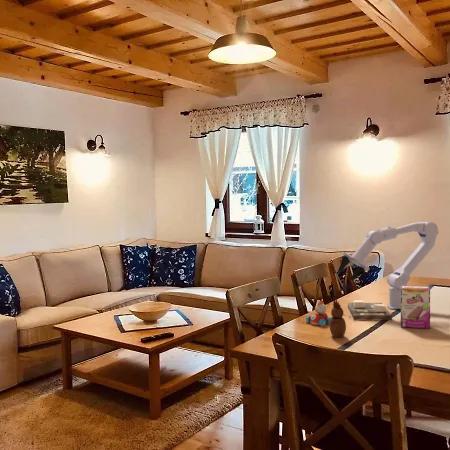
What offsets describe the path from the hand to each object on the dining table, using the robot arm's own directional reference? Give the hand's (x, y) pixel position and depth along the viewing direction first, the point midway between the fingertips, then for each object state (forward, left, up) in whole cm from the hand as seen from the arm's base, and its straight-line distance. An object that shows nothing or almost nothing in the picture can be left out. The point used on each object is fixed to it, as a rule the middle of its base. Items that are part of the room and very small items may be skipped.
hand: (345, 275), depth 229 cm
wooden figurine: (+8, +43, -17) cm, 46 cm away
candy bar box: (-24, +30, -17) cm, 42 cm away
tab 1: (-5, +4, -14) cm, 15 cm away
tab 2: (-13, +12, -14) cm, 23 cm away
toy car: (+14, +24, -17) cm, 32 cm away
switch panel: (-9, +7, -16) cm, 20 cm away
